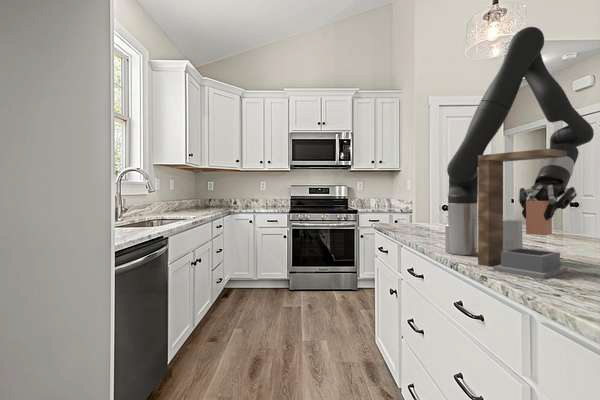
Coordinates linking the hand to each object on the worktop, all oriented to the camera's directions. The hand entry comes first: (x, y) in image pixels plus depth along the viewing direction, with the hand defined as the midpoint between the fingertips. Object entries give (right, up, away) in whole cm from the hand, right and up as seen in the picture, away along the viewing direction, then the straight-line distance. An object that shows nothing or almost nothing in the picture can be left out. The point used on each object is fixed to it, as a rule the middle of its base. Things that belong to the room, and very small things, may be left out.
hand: (535, 217), depth 96 cm
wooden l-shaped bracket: (-3, -14, +2) cm, 15 cm away
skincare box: (+4, -14, +17) cm, 23 cm away
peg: (+2, -5, +1) cm, 5 cm away
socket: (-2, -14, -1) cm, 14 cm away
